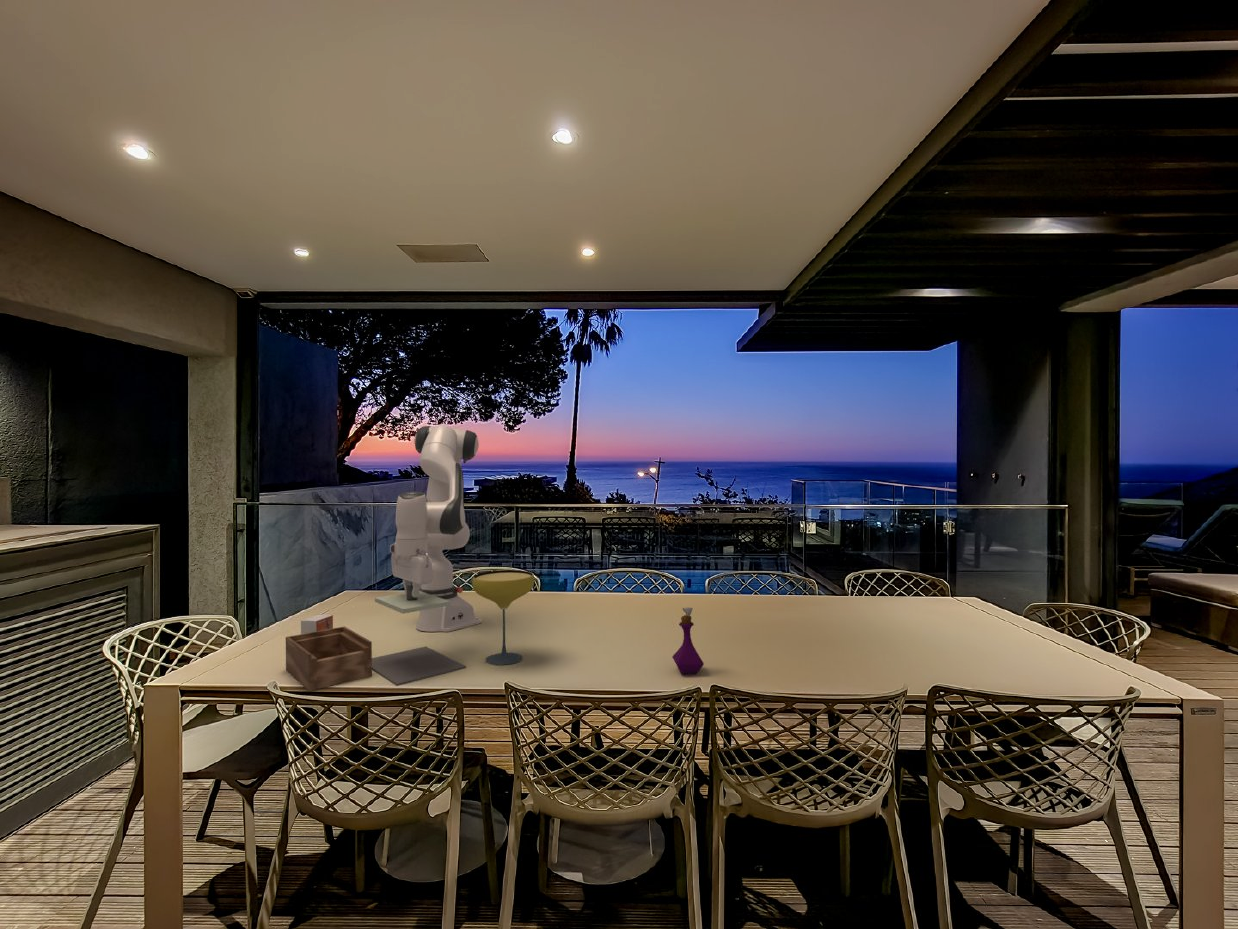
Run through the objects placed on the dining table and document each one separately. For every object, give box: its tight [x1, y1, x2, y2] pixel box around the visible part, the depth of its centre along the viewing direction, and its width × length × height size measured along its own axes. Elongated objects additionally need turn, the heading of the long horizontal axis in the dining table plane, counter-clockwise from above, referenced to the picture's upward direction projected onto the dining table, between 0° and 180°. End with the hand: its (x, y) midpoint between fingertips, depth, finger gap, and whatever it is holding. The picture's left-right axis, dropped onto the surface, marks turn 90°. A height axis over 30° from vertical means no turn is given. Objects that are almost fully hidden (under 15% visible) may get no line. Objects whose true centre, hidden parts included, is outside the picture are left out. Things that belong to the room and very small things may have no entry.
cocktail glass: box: [471, 569, 535, 666], centre depth 179 cm, size 18×18×25 cm
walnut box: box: [285, 626, 373, 692], centre depth 168 cm, size 16×22×9 cm
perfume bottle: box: [672, 607, 705, 676], centre depth 166 cm, size 8×8×18 cm
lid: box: [374, 584, 450, 614], centre depth 174 cm, size 14×20×5 cm
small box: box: [300, 614, 334, 634], centre depth 188 cm, size 8×6×10 cm
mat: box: [372, 646, 467, 687], centre depth 174 cm, size 20×26×1 cm
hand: (412, 595), depth 174 cm, fingers closed on lid, 3 cm apart
